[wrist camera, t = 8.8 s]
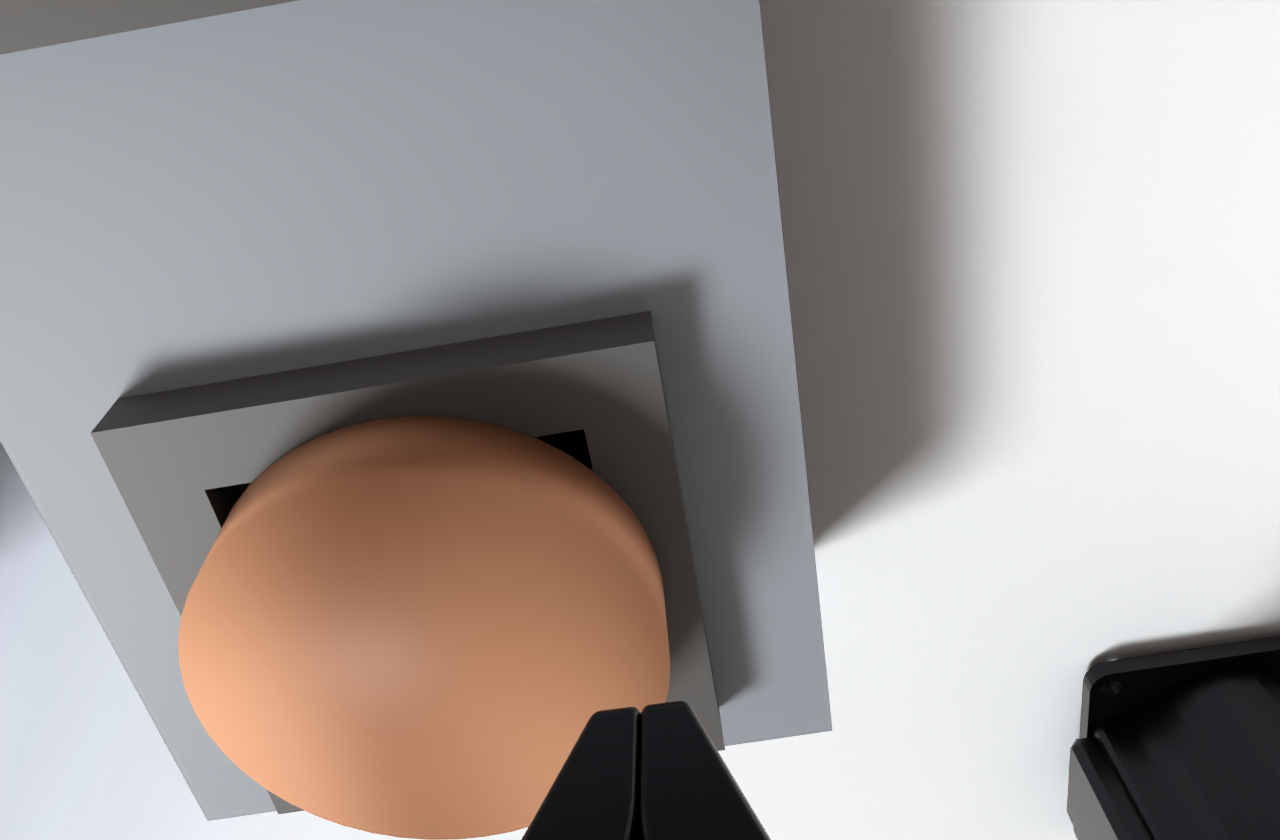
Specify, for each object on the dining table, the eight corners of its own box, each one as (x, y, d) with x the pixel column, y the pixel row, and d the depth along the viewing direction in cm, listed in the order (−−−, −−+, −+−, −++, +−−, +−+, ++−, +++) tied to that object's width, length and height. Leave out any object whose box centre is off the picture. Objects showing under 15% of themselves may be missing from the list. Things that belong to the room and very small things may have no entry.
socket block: (613, -954, 13) (628, -1481, 7) (789, 564, 24) (843, 772, 19) (-339, -743, 13) (-941, -1095, 8) (275, 642, 25) (190, 865, 20)
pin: (617, 249, 19) (627, 435, 14) (673, 556, 23) (700, 805, 17) (239, 312, 19) (95, 520, 14) (352, 606, 23) (274, 866, 17)
